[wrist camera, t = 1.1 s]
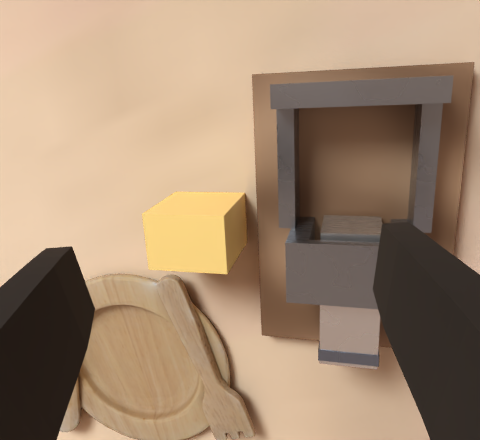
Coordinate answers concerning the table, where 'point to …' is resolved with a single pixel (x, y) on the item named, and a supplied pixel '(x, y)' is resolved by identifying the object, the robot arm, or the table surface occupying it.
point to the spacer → (196, 232)
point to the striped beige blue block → (348, 318)
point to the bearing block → (329, 269)
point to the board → (350, 174)
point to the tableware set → (154, 365)
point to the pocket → (363, 94)
